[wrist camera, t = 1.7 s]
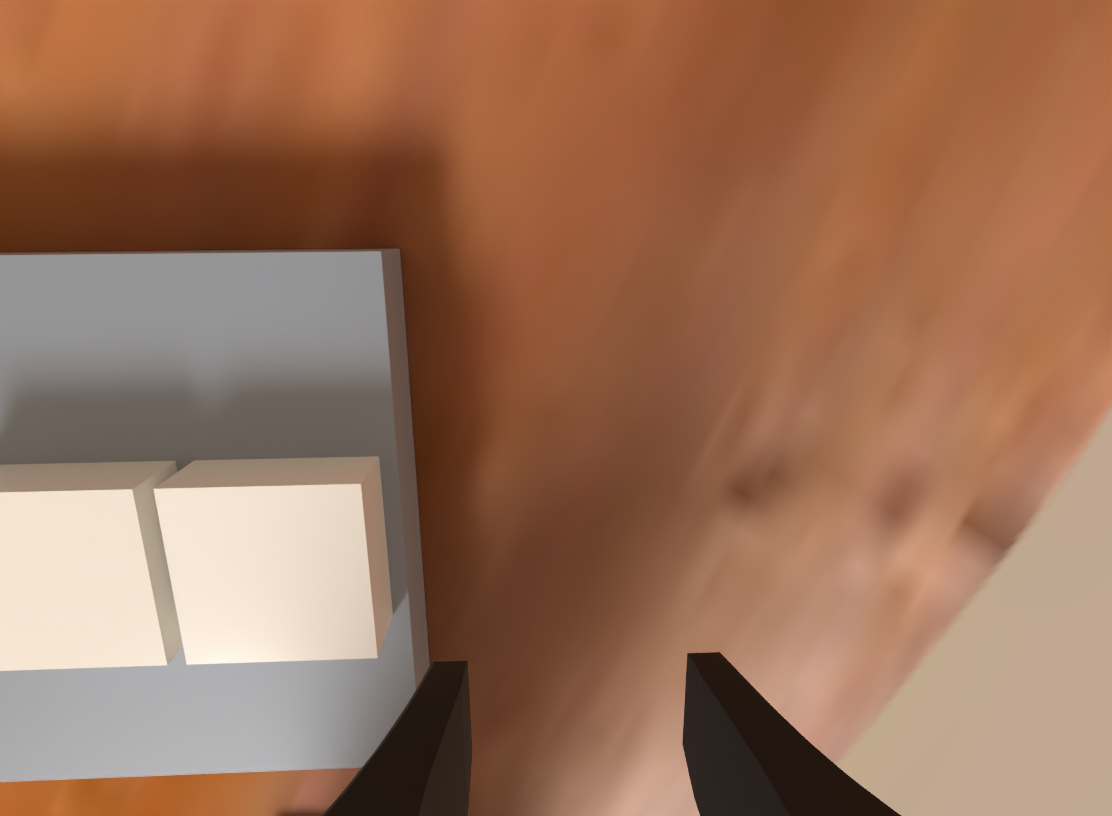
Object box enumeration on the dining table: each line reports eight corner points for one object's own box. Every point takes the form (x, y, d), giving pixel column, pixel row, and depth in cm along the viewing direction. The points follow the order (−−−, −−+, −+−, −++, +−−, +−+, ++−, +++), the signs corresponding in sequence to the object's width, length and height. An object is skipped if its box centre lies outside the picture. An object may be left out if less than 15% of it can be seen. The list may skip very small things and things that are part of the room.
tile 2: (203, 620, 19) (167, 665, 17) (28, 626, 19) (-29, 671, 17) (175, 460, 18) (132, 489, 16) (-14, 465, 17) (-81, 494, 15)
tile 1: (392, 614, 19) (377, 658, 17) (221, 620, 19) (186, 664, 17) (379, 456, 18) (361, 483, 16) (194, 460, 18) (152, 488, 16)
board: (433, 708, 23) (421, 765, 21) (0, 725, 22) (-63, 784, 20) (400, 248, 19) (381, 251, 16) (-136, 253, 18) (-238, 257, 16)
